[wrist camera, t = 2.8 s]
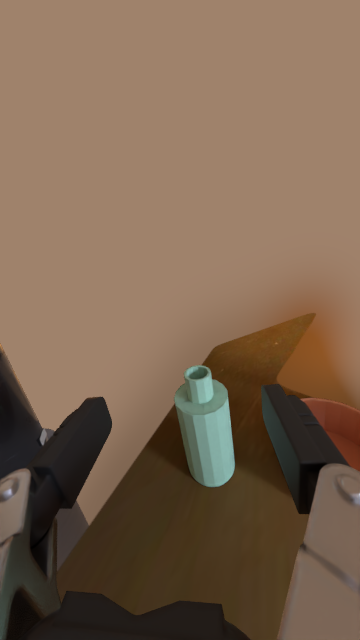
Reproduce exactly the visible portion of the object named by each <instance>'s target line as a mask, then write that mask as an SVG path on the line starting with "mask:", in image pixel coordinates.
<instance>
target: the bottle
mask: <svg viewBox="0 0 360 640" xmlns="http://www.w3.org/2000/svg"><path fill="white" fill-rule="evenodd" d="M184 378H185V384H183V385H182V386H180V388H179V389H178V390H177V391H176V394H175V397H174V401H175V405H176V410H177V415H178V420H179V424H180V429H181V434H182V439H183V444H184V448H185V453H186V458H187V463H188V466H189V470H190V473H191V475H192V476H193V478H194V479H195V480H196V481H197V482H199V483H200V484H202V485H204V486H207V487H217V486H221V485H223V484H224V483H226V482H227V481H228V480H229V479H230V478H231V476H232V474H233V472H234V468H235V461H234V451H233V441H232V432H231V422H230V413H229V403H228V394H227V390H226V388H225V387H224V386H223V384H221V383H219V382H218V381H216V380H212V377H211V371H210V369H209V368H208V367H206V366H201V365H197V366H192V367H190V368H188V369H187V370H186V371H185V372H184Z"/></svg>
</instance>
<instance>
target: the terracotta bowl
mask: <svg viewBox="0 0 360 640" xmlns="http://www.w3.org/2000/svg"><path fill="white" fill-rule="evenodd" d="M300 400H302V401H303V402H305V403H306V405H307V406H308V407H309V409H310V410H311V412H312V413H313V416H315V417H316V419H317V420H318V422H319V424H320V425H321V426H322V427H323V429H324V430H325V431H326V433H327V434H328V436H329V437H330V439H331V440H332V441H333V443H334V444H335V446H336V447H337V448H338V450H339V451H340V453H341V454H342V456H343V457H344V458H345V460H346V461H347V463H348V464H349V465H350V466H351V467H352V468H354V469H356V470H358V471H359V472H360V410H358V409H356V408H353V407H351V406H348V405H346V404H344V403H339V402H336V401H332V400H328V399H320V398H304V399H300Z"/></svg>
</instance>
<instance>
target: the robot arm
mask: <svg viewBox="0 0 360 640" xmlns="http://www.w3.org/2000/svg"><path fill="white" fill-rule="evenodd" d="M261 392H262V412H263V418H264V423H265V426H266V429H267V431H268V434H269V436H270V439H271V442H272V444H273V447H274V450H275V452H276V455H277V458H278V460H279V463H280V465H281V468H282V471H283V473H284V476H285V479H286V481H287V484H288V487H289V489H290V492H291V494H292V497H293V500H294V502H295V505H296V508H297V510H298V513H299V514H309V515H310V516H309V520H308V525H307V529H306V533H305V537H304V541H303V544H302V545H301V546H300V548H299V551H298V555H297V558H296V562H295V566H294V571H293V575H292V579H291V583H290V587H289V591H288V595H287V600H286V604H285V608H284V612H283V616H282V620H281V624H280V628H279V633H278V637H277V640H360V472H359V471H358V470H356V469H354V468H352V467H351V466H350V465H349V464H348V463H347V461H346V460H345V458H344V457H343V456H342V454H341V453H340V451H339V450H338V448H337V447H336V446H335V444H334V443H333V441H332V440H331V439H330V437H329V436H328V434H327V433H326V431H325V430H324V429H323V427H322V426H321V425H320V424H319V422H318V420H317V419H316V417H315V416H313V413H312V412H311V410H310V409H309V407H308V406H307V405H306V403H305V402H303V401H302V400H300V399H299V398H298V397H296V396H295V395H288V396H286V394H285V392H284V391H283V389H282V387H281V386H280V385H279V384H273V385H262V387H261ZM111 428H112V420H111V417H110V414H109V411H108V408H107V405H106V402H105V400H104V398H103V397H93V398H87V399H86V400H85V401H84V402H83V403H82V405H81V406H80V407H79V408H78V409H76V410H75V411H74V412H73V413H72V414H70V415H69V416H68V417H67V418H66V419H65V420H64V421H63V423H62V424H61V425H60V427H59V428H58V429H57V430H56V431H55V432H54V433H53V436H51V437H50V438H49V439H48V437H47V433H46V431H45V429H44V428H42V427H41V425H40V423H39V420H38V418H37V416H36V414H35V412H34V410H33V408H32V406H31V404H30V402H29V401H28V398H27V396H26V395H25V392H24V391H23V388H22V386H21V384H20V382H19V380H18V378H17V376H16V374H15V372H14V370H13V368H12V366H11V364H10V362H9V360H8V358H7V356H6V354H5V352H4V350H3V348H2V346H1V344H0V640H250V639H249V638H248V637H247V635H246V634H244V633H243V632H242V631H241V630H239V629H238V628H237V627H236V626H234V625H233V624H231V623H229V622H227V621H226V620H225V619H224V614H223V609H222V604H214V603H202V602H190V601H178V602H175V603H172V604H169V605H166V606H164V607H161V608H158V609H155V610H153V611H150V612H147V613H144V614H142V615H133V614H131V613H130V612H128V611H127V610H125V609H124V608H122V607H121V606H119V605H118V604H116V603H115V602H113V601H111V600H110V599H108V598H107V597H105V596H104V595H102V594H97V593H85V592H73V591H66V594H65V597H64V599H63V602H62V604H61V601H60V596H59V593H58V589H57V580H56V572H57V519H56V517H55V516H56V514H57V512H58V511H59V509H60V508H63V509H72V507H73V505H74V503H75V501H76V499H77V497H78V495H79V493H80V491H81V489H82V487H83V485H84V483H85V481H86V479H87V477H88V475H89V473H90V471H91V469H92V467H93V465H94V463H95V461H96V459H97V458H98V456H99V454H100V452H101V449H102V448H103V445H104V444H105V442H106V440H107V438H108V436H109V434H110V431H111Z"/></svg>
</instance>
